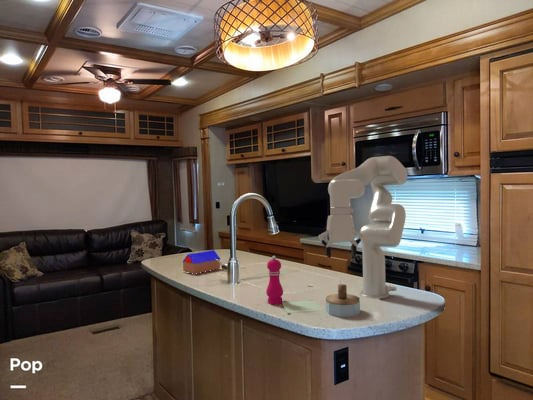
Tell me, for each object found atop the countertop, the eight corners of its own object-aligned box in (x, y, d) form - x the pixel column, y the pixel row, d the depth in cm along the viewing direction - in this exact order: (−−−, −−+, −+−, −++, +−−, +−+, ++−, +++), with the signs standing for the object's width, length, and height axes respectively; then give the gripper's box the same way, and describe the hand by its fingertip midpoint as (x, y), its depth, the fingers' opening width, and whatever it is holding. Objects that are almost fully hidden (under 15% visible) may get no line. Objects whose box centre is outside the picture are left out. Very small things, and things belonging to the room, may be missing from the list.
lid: (353, 295, 156) (352, 280, 156) (364, 304, 144) (363, 288, 143) (322, 296, 155) (322, 282, 155) (331, 306, 142) (330, 290, 142)
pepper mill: (273, 305, 161) (272, 257, 161) (263, 302, 167) (262, 255, 167) (286, 302, 165) (285, 255, 165) (276, 299, 171) (275, 253, 171)
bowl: (352, 307, 156) (352, 295, 156) (363, 317, 144) (363, 303, 144) (323, 309, 155) (323, 296, 154) (331, 319, 143) (331, 305, 143)
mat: (314, 301, 165) (314, 300, 165) (323, 311, 152) (323, 310, 151) (282, 303, 164) (282, 302, 164) (287, 314, 150) (287, 312, 150)
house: (220, 269, 241) (220, 250, 241) (194, 275, 227) (193, 255, 227) (208, 267, 250) (208, 249, 249) (182, 272, 235) (181, 253, 235)
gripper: (358, 210, 153) (359, 254, 153) (315, 212, 151) (316, 256, 151) (365, 211, 146) (366, 257, 146) (320, 213, 144) (321, 259, 144)
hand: (341, 256), depth 149 cm, fingers open, 9 cm apart
